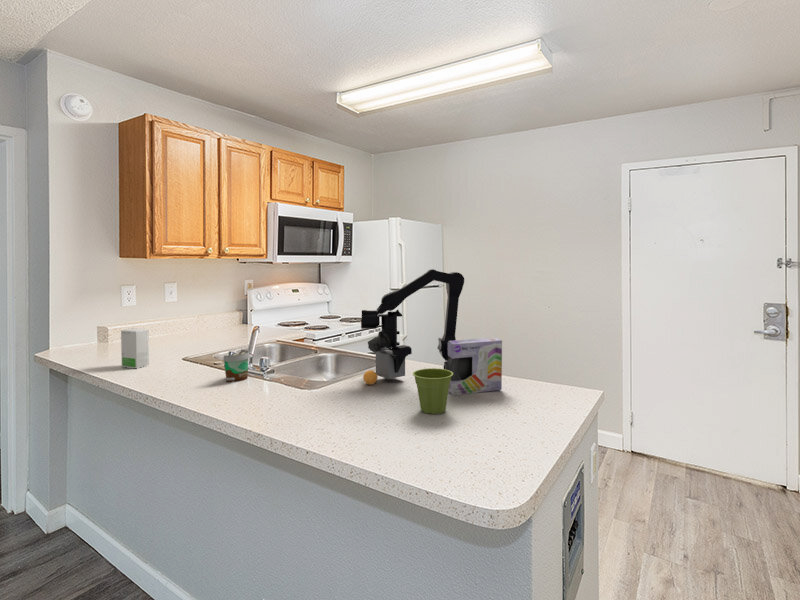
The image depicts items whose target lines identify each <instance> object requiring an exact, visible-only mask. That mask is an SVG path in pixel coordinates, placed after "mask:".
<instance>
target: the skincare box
mask: <svg viewBox="0 0 800 600" xmlns="http://www.w3.org/2000/svg"><path fill="white" fill-rule="evenodd" d="M120 336H121V337H120V340H121V341H120V345H121V351H120V352H121V368H125V367H127V368H126V369H133V368H138V369H141V368H140V367H142V368H144V367H143V366H146V367H148V366H147V365H150V360H149V359H150V353H149V352H150V350H149V349H150V347H149V345H150V344H149V338H150V337H149V329H145V328H134V327H132V328H128V329H127V328H126V329H122V330H120Z"/></svg>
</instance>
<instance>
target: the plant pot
mask: <svg viewBox="0 0 800 600" xmlns="http://www.w3.org/2000/svg"><path fill="white" fill-rule="evenodd" d="M412 376H414V380H415V384H416V388H417V394H418V400H419V405H420V411H421V412H423V413H425V414H432V415H438V414H443V413H445V411H446V409H447V403H448V398H449V397H448V396H449V392H448V390H449V384H450V382H451V376H453V372H451V371H449V370H445V369H444V368H437V367H435V368H433V367H432V368H422V369H421V368H420V369H417V370H415V371H413V372H412Z"/></svg>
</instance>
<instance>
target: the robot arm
mask: <svg viewBox="0 0 800 600" xmlns="http://www.w3.org/2000/svg"><path fill="white" fill-rule="evenodd" d="M434 281H435V282H439V283H443V284H445V286H446V287H445V289H446V295H447V297H446V298H447V299H446V310H445V311H446V312H445V318H444V320H445V321H444V328H443V329H444V331H443V335H442V337H438V345H437V347H436V348H437V350H438V352H439V354H440V356H441V357H442V358H443V359H444V360H445V361H444V362H443V363H444V364H443V369H445V370H447V365H448V341H455V340H457V339H456V330H457V322H458V321H457V320H458V309H459V302H460V301H459V299H460V296H461V294H462V291H463V288H464V284H465V277H464V275H463V274H462V273H460V272H457V271H452V272H442V271H439V270H436V269H435V268H431V269H429V270H427V271H426V272H425V273H423V274H422V275H420V276H418V277H417V278H415V279H414V280H412V281H411V282H409V283H408V284H406V285H404V286H402V287H401V288H398V289H396V290H393V291H390V292H388V293H386V294H384V295H383V296H382V297H381V301H380V302H381V303H380V304H379V306H378V307H377V308H376V310H366V309H362V310H361V317H360V318H361V319H360V325H361V326H360V328H361V329H362V330H369V329H370V330H371V329H372V330H373V329H375V330H377V327H380V326H381V328H380V330H379V331H378V336H376V337H373V338H372V339H370V340H368V341H367V345H368V346H367V347H368V350H369V351H371V352H372V353H374V354H375V355H376V352H378V351H382V350H391V351H392V353H393V355H391V356H392V357H393V359H394V369H395V373H398V371H399V369H400V367H401V365H402V363H403V361H404V359H405V360H406V358H407V357H408V356H410V355H412V354H413V353H412V350H413V349H412V347H411V346H409V345H406V344H402V345H401V344H400V342H399V341H398V335H400V334H401V333H400V331H399V330H398V317H403V313H401V312H400V310H399V309H396V308H397V307H398V306H400V305H401V304H402V303H403V302H404V301H405V300H406V299H407V298H408V297H410V296H411V295H413V294H414V293H416V292H418V291H420V290H421V289H422V288H423V287H426V286H427V285H428V284H430V283H432V282H434ZM395 309H396V310H395ZM393 310H394V311H393ZM386 312H387V313H386ZM385 313H386V314H385ZM380 318H381V323H380Z"/></svg>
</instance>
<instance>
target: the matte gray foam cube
mask: <svg viewBox="0 0 800 600" xmlns="http://www.w3.org/2000/svg"><path fill="white" fill-rule="evenodd" d="M391 355H393V353H392V351H391V350H382V351H378V352H376V354H375V373H376V374H377V377H381V378H384V379H387V380H391V379H392V380H393V379H396V378H401V377H406V358H405V359H404V361H403V363H402V365H401V367H400V369H399V371H398V373H395V369H394V359H393V357H392V356H391Z"/></svg>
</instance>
